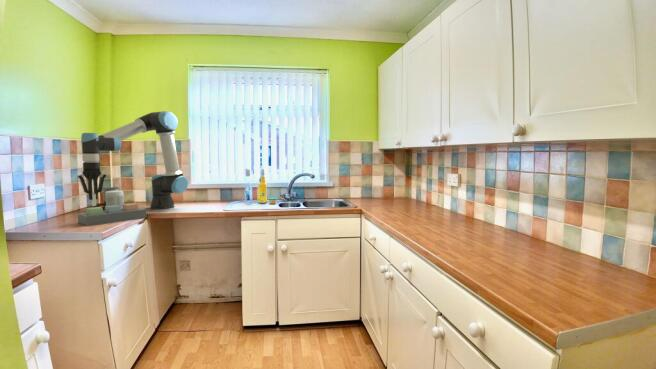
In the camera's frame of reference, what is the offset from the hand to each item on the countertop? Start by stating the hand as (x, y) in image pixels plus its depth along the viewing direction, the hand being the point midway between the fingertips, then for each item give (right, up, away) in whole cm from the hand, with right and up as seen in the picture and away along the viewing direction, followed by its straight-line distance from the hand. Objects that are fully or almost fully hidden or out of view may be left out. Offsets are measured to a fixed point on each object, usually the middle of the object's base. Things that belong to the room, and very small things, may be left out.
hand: (93, 205), depth 189 cm
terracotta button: (+12, -4, +14) cm, 19 cm away
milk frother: (-23, -6, +47) cm, 52 cm away
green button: (0, -5, +1) cm, 5 cm away
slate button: (+6, -5, +7) cm, 11 cm away
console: (+6, -9, +8) cm, 13 cm away
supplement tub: (-3, -8, +24) cm, 25 cm away
